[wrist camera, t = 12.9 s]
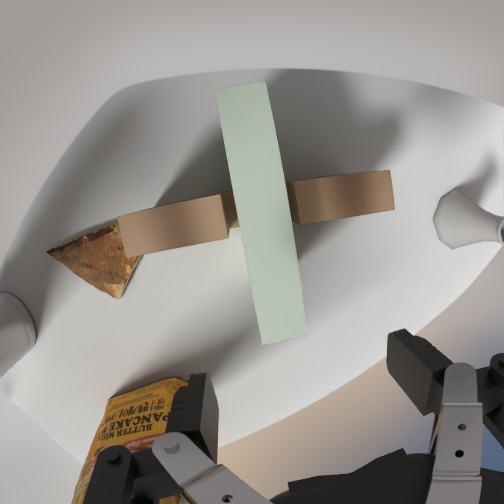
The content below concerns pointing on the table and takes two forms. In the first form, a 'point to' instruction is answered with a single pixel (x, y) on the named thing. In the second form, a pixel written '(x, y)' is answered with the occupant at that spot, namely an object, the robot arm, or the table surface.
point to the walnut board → (225, 215)
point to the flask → (466, 222)
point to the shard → (99, 259)
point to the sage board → (262, 210)
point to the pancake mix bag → (132, 427)
